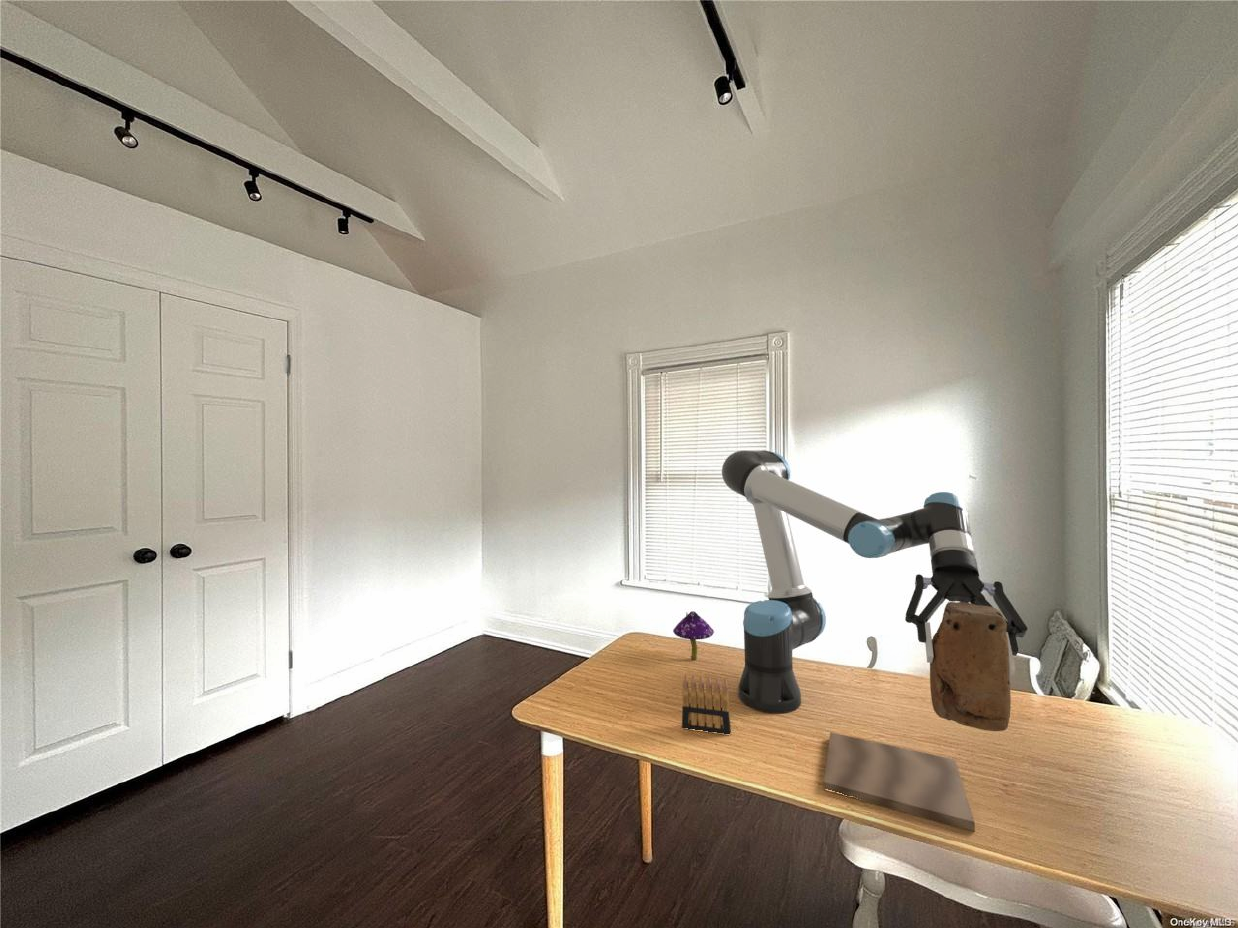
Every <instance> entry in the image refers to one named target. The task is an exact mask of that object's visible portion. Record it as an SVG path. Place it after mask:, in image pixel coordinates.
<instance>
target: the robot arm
mask: <svg viewBox="0 0 1238 928" xmlns="http://www.w3.org/2000/svg"><path fill="white" fill-rule="evenodd" d="M721 477H722V479H723V482H724V484H725V485H726V486H727V487H728V488H729V489H730V491H731V490H732V491H733V492H734V493H737V494H738V495H740V496H742V497H744V498H745V499H746V502H748V503H749V504H751V505H752V506H753V509H754V514H755V518H756V523H757V529H758V532H759V537H760V540H761V545H762V549H763V554H764V558H765V559H764V560H765V564H766V567H767V571H768V578H769V581H770V584H771V585H770V586H771V590H770V592H769V594H768V595H767V597H768V599H764V600H758V601H753V602H751V603H750V604H748V605H747V606H746V607H745V609H744V611H743V621H742V625H743V641H744V642H743V643H744V646H743V647H744V648H743V649H744V667H743V671H742V674H741V677H740V679H739V682H738V690H737V691H738V698H739V699H740V701H741V702H742V703H743V704H745V705H746V706H748V707H750V708H751V709H752V708H753V709H754V710H757V711H762V712H765V713H774V714H776V713H778V714H780V713H781V714H782V713H790V712H793V711H795V710H797V709H799V708H800V707H801V705H802V694H801V693H802V692H801V690H800V687H799V684H798V682H797V679H796V676H795V673H794V670H793V669H794V668H793V667H794V666H793V650H794V649H797V648H799V647H801V646H803V645H805V644H809V643H811V642H813V641H814V640H816V639H817V638H819V636H821V634H822V633H823V632H824V630H825V627H826V624H827V623H826V622H827V621H826V619H827V618H826V613H825V610H824V608H823V606H822V604H821V603H820V602H818V601H817V599H816V598H814V596H813V592H812V591H813V590H812V589H811V588H809V587H808V586H806V585H805V583H804V579H803V574H802V570H801V566H800V562H799V558H798V553H797V549H796V545H795V541H794V536H793V533H792V529H791V525H790V520H789V516H792V517H794V518H796V519H798V520H800V521H802V522H804V523H806V524H808V525H809V526H812V527H814V528H816V529H818V530H820V531H822V532H824V533H826V534H828V535H831V536H832V537H833V538H834V537H835V538H836V539H838V540H840V541H842V542H844V543H846V544H848V545H849V546H850V548H851V549H852V551H853V553H855V554H857V555H858V556H860V557H861V558H865V559H877V558H882V557H884V556H887V555H889V554H892V553H896V552H900V551H903V550H905V549H906V550H907V549H909V548H915V547H918V546H922V545H925V544H928V547H929V555H930V556H929V557H930V564H931V570H932V571H931V573H932V576H931V577H923V575H922V574H920V573H918V574H916V575H915V579H914V581H915V582H914V586H915V588H914V590H913V592H912V596H911V599H910V601H909V604H908V607H907V610H906V612H905V616H904V617H905V619H904V621H905V622H906V623H909V624H910V623H911V624H913V625H915V626H916V632H917V640H918V642H919V643H923V644H924V645H925V654H926V656H925V657H926V662H927V663H928V664H930V663H932V661H933V657H934V656H933V647H932V639H933V636H932V629H931V622H928V621H930V620H931V618H932V617H933V615H934V614H935V613H936V612H937V611H938V609H939V608H940V607H941V605H942V604H944V602H945V601H946V600H948V602H965V603H971V604H974V605H981V606H990V607H993V608H995V607H994V606H993V605H992V604H991V603H990V602H989V601H988V600H987V599H986V597H985V595H984V594H983V591H986V592H987V593H988V595H989V596H990V597H993V601H994V602H995V604H996V605H997V607H998V610H999V611H1000V612H1001V613H1002V615H1003V617H1004V619H1005V622H1006V624H1007V626H1006V634H1007V638H1008V648H1009V666H1010V675H1009V677H1011V676H1012V677H1013V676H1014V673H1015V671H1016V664H1015V660H1014V659H1015V658H1014V657H1015V656H1017V654H1018V653H1019V646H1018V641H1017V638H1025V636H1026V633H1027V631H1028V630H1029V629H1028V627H1027V625H1026V623H1025V622H1024V621H1023V619H1022V618H1021V616H1020V614H1019V613H1018V612H1017V610H1016V609H1015V607H1014V605H1013V604H1012V602H1011V601H1010V600H1009V598H1008V597H1007V595H1006V594H1005V592H1004V587H1003V583H1002V582H1000V581H996V580H995V581H994V582H993V583H989V582H984V581H983V580H982V579H981V576H980V573H979V567H978V562H977V559H976V553H975V547H974V542H973V538H972V537H973V536H972V532H971V526H970V519H969V513H968V511H967V508H966V504H965V502H964V500H963V498H962V497H961V496H959V495H957V494H956V493H953V492H949V491H939V492H935V493H932V494H930V495H929V496H928V497H926V498H925V499H924V502H923V508H919V509H916V510H913V511H910V512H906V513H903V514H898V515H894V516H890V517H886V518H879V519H878V518H877V517H876V518H875V517H874V516H870V515H868V514H867V513H863V512H862V511H859V510H857V509H855V508H853V507H850V506H848V505H846V504H843V503H842V502H839V501H837V500H835V499H833V498H830V497H828V496H825V495H823V494H821V493H818V492H816V491H814V490H811V489H810V488H808V487H805V486H803V485H800V484H798V483H796V482H793V481H791V480H790V478H791V468H790V465H789V463H788V461H787V459H786V458H784V457H783V455H781V454H779V453H778V452H774V451H771V450H737V451H734V452H733V453H731V454H730V455H729V456H727V457H726V459H725V460H724V461H723V464H722V467H721ZM788 515H789V516H788ZM929 586H931V587H933V588H934V589H935V590H936V592H935V594H934V595H933V597H932V598H931V599H930V601H929V602H928V603H927V605H925V607H924V608H923V609H922V610H921V612H920V613H919V614H918V615H917V614H916V612H917V610H918V607H919V604H920V601H921V598H922V597H923V592H924V590H926V589H928V587H929Z"/></svg>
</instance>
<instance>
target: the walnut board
mask: <svg viewBox="0 0 1238 928" xmlns="http://www.w3.org/2000/svg"><path fill="white" fill-rule="evenodd" d="M825 762H826V763H825V770H824V778H823V790H824V789H828V790H832V791H835V792H839V793H842V794H844V795H847V796H853V797H855V798H858V799H861V800H863V801H862V802H865V801H866V802H865V803H869V802H870V804H872V803H873V805H876V806H880V807H883V806H884V808H887V807H888V808H887V809H891V808H892V810H894V809H896V810H895V811H899V812H902V813H905V812H906V813H905V814H909V815H913V816H917V817H919V818H923V819H928V820H931V821H935V822H939V823H943V824H945V825H950V826H953V827H956V826H957V828H960V829H963V830H966V831H967V830H968V831H971V832H975V829H976V828H975V820H974V816H973V812H972V809H971V807H970V804H969V800H968V796H967V793H966V790H965V788H964V783H963V781H962V777H961V773H960V770H959V768H958V765H957V762H956V759H954V758H949V757H945V756H941V755H936V754H932V753H926V752H922V751H918V750H914V749H908V748H905V747H900V746H895V745H892V744H891V745H890V744H886V743H882V742H878V741H877V742H876V741H874V740H873V741H872V740H868V739H863V738H859V737H856V736H855V737H854V736H849V735H844V734H840V733H836V732H830V733H829V739H828V746H827V755H826V761H825ZM847 796H846V797H847ZM858 799H857V800H858ZM861 800H860V801H861Z"/></svg>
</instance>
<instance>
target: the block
mask: <svg viewBox="0 0 1238 928" xmlns="http://www.w3.org/2000/svg"><path fill="white" fill-rule="evenodd" d="M993 607H994V606H993ZM993 607H990V606H981V605H974V604H971V603H970V602H969V603H965V602H959V601H955V602H952V601H948V602H946V604H945V607H944V610H943V613H942V620H941V622H940V624H939V626H938V628H937V630H936V632H935V634H933V636H932V647H933V656H934V657H933V661H932V663H929V677H930V678H929V685H930V686H929V687H930V697H931V698H930V700H931V705H932V708H933V711H934V713H936V715H937V716H938V717H939V718H941V719H943V720H946V721H950V722H951V721H952V722H955V723H957V724H959V725H962V726H967V727H970V728H975V729H978V730H980V731H981V730H983V731H988V732H1002V731H1003V732H1004V731H1006V730H1007V729H1008V727H1009V722H1010V717H1011V708H1012V707H1011V704H1012V703H1011V701H1012V700H1011V699H1012V697H1011V683H1010V682H1011V681H1010V666H1009V648H1008V638H1007V634H1006V626H1007V624H1006V622H1005V620H1006V618H1005V617H1004V615H1003V613H1002V612H1001V610H1000V609H997V608H995V607H994V608H993Z"/></svg>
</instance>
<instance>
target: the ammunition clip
mask: <svg viewBox="0 0 1238 928" xmlns="http://www.w3.org/2000/svg"><path fill="white" fill-rule="evenodd" d="M682 681H683V682H682V693H681V695H682V700H681V701H682V711H681V712H682V713H681V715H682V716H681V728H688V729H695V730H703V731H708V732H717V733H724V734H730V733H732V732H731V731H732V728H731V727H732V726H731V715H730V696H729V688H728V686H729V685H728V681H727V679H726V678H724V679H723V682H722V692H721V687H720V681H719V678H718V677H716V678H715V680H714V687H712V681H711V677H710V676H707V679H706V687H704V686H705V684H704V679H703V676H702V675H700V676H699V679H698V689H697V682H696V677H695V675H694V674H692V675H691V678H690V689H689V679H688V675H687V674H686V673H685V674H684V676H683V680H682ZM705 688H706V689H705ZM712 688H713V689H714V691H713V689H712ZM697 690H698V692H697ZM705 691H706V692H705ZM713 693H714V694H713ZM721 693H722V694H721Z"/></svg>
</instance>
